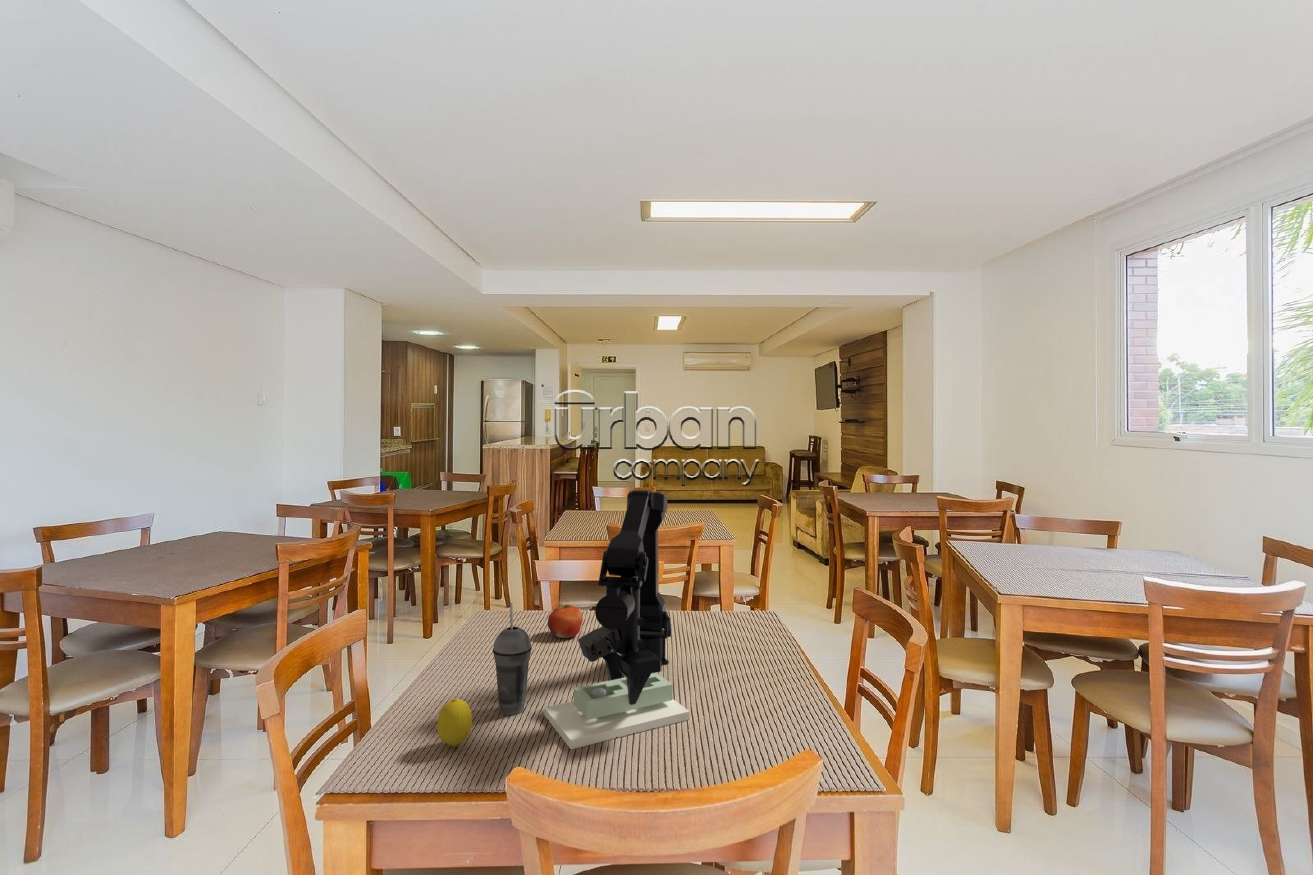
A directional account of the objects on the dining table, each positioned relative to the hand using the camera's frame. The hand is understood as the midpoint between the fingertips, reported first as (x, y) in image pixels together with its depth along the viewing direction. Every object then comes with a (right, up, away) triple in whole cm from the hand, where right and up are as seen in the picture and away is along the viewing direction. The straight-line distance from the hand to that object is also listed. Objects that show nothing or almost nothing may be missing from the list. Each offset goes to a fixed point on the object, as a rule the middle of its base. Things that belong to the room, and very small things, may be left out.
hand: (623, 696), depth 112 cm
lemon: (-28, -4, -12) cm, 30 cm away
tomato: (-18, -4, +46) cm, 49 cm away
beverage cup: (-21, -4, +2) cm, 22 cm away
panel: (0, -1, 0) cm, 1 cm away
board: (-1, -4, -1) cm, 4 cm away
